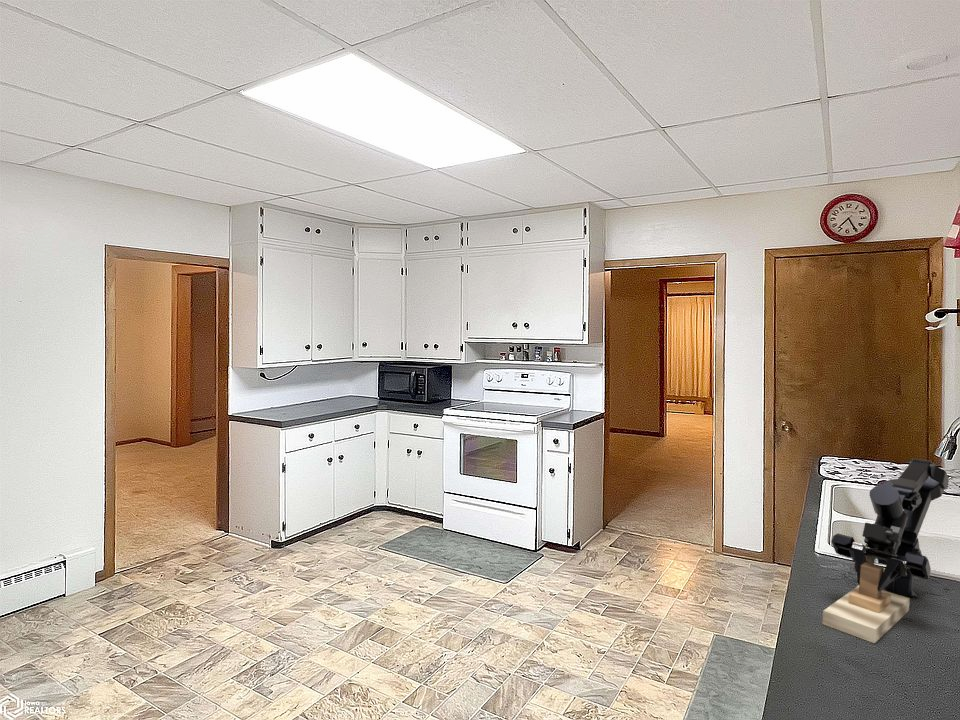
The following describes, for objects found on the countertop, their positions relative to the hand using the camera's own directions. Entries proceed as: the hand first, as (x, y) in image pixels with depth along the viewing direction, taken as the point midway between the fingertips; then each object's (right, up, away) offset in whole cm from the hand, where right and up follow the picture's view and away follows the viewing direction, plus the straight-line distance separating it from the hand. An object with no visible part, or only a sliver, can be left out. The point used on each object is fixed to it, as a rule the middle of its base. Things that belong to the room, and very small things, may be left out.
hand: (868, 587), depth 136 cm
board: (0, -7, +1) cm, 7 cm away
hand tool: (+21, -6, +34) cm, 40 cm away
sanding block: (+1, -4, +1) cm, 4 cm away
